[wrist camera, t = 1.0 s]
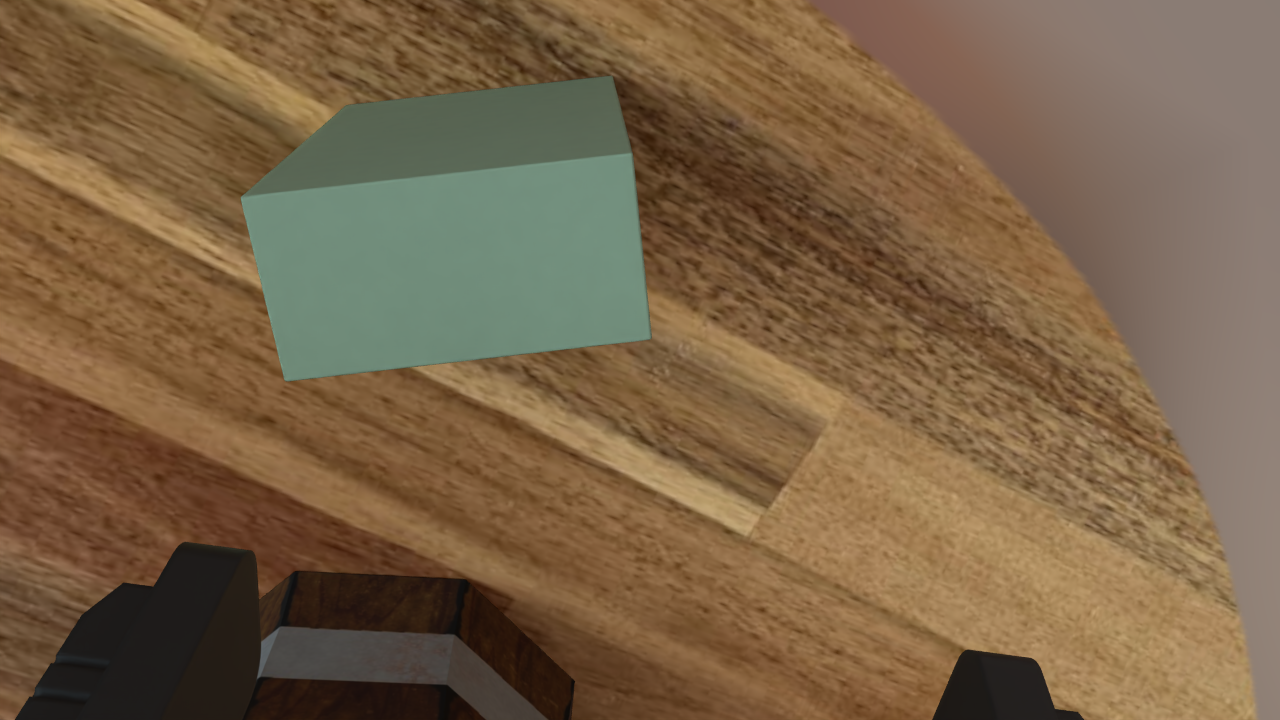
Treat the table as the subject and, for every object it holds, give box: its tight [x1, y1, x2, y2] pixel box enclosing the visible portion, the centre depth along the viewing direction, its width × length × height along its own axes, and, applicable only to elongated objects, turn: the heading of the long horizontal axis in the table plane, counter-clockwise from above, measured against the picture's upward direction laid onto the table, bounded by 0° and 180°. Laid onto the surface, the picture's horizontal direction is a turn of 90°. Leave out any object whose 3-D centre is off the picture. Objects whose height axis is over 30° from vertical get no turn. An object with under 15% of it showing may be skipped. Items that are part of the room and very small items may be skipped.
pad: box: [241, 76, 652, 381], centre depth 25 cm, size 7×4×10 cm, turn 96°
